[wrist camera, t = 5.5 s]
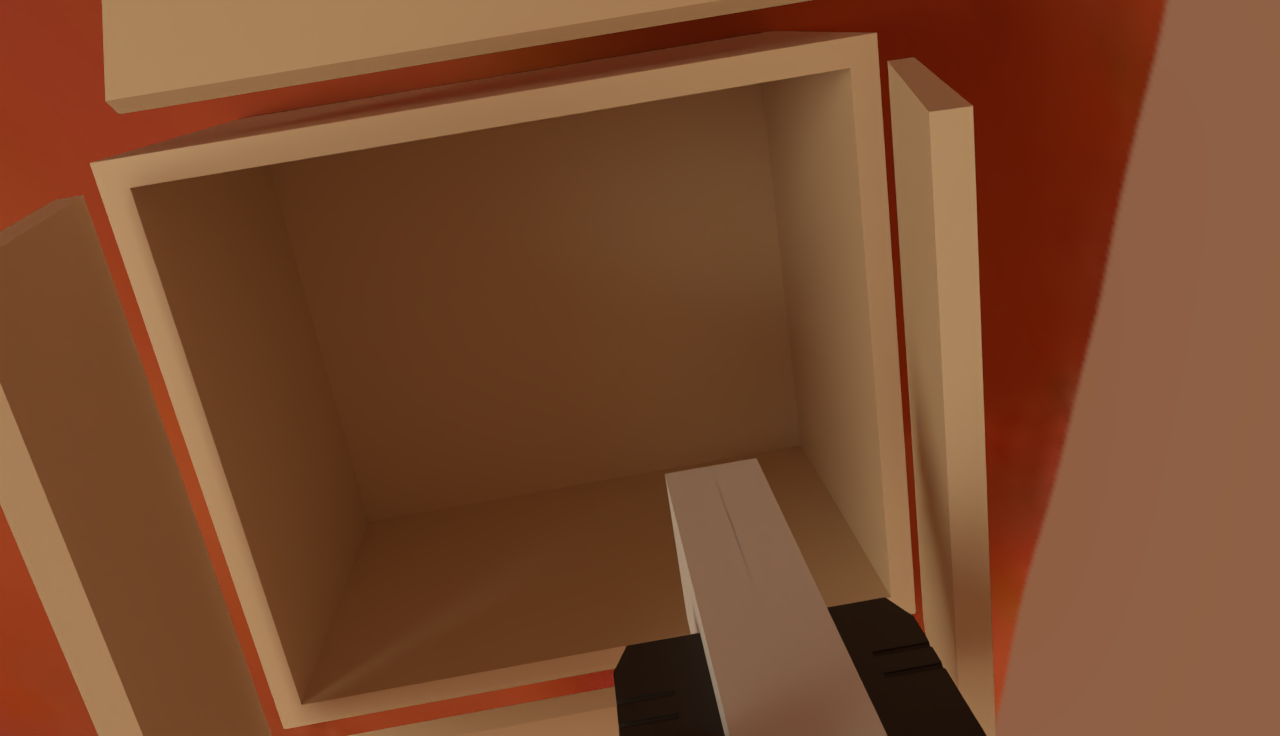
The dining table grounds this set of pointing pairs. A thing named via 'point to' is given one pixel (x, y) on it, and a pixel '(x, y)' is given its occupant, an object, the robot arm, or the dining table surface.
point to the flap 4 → (945, 371)
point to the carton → (524, 353)
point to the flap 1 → (107, 498)
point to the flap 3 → (526, 719)
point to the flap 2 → (341, 38)
